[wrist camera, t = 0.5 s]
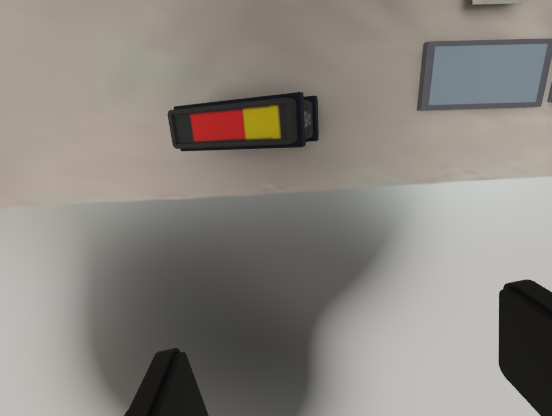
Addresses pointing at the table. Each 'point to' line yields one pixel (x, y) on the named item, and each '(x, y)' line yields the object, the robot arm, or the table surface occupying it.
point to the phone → (484, 74)
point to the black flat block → (246, 123)
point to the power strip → (550, 95)
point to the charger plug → (497, 1)
